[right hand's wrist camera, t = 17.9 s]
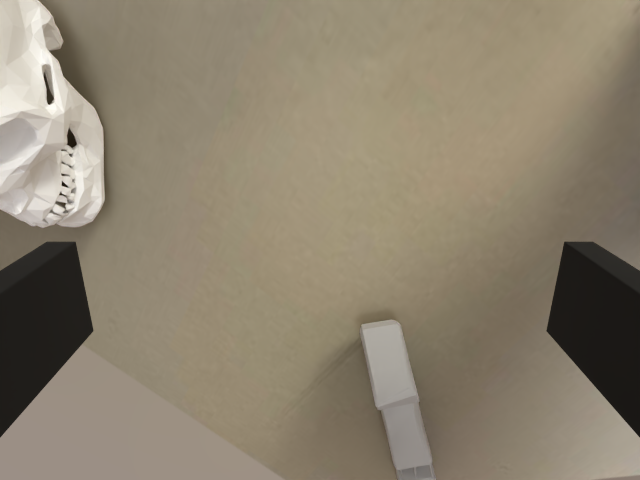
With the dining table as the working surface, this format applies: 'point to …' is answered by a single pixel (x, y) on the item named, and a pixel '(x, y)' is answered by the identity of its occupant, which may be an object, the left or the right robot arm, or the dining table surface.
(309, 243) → the dining table surface
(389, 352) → the white jointed bar
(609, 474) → the dining table surface
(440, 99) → the dining table surface
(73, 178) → the skull
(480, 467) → the dining table surface
